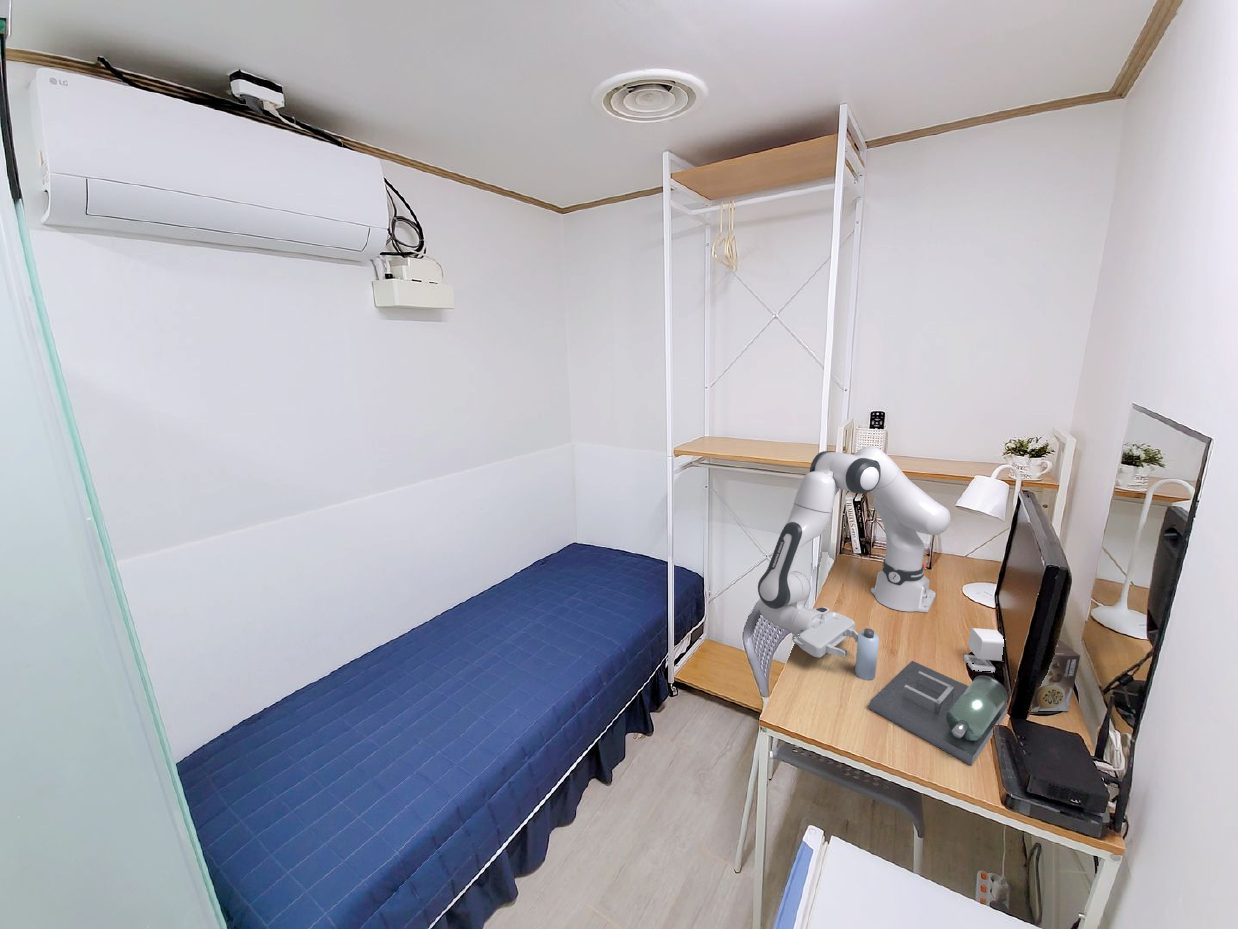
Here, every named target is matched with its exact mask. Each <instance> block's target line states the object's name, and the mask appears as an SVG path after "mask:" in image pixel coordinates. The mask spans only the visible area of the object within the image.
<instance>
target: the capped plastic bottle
mask: <svg viewBox="0 0 1238 929" xmlns="http://www.w3.org/2000/svg"><path fill="white" fill-rule="evenodd" d="M857 633H858V643H857V645H856V657H855V669H854V675H856V676H857V677H858V678H859V679H861V680H865V681H873V680H874V679H875V678H876V672H877V663H878V652H879V651H878V650H879V644H880V636H879V635H878V634H877V633H875V631H874V630H873V629H871V628H864V630H860V631H858V632H857Z"/></svg>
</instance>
